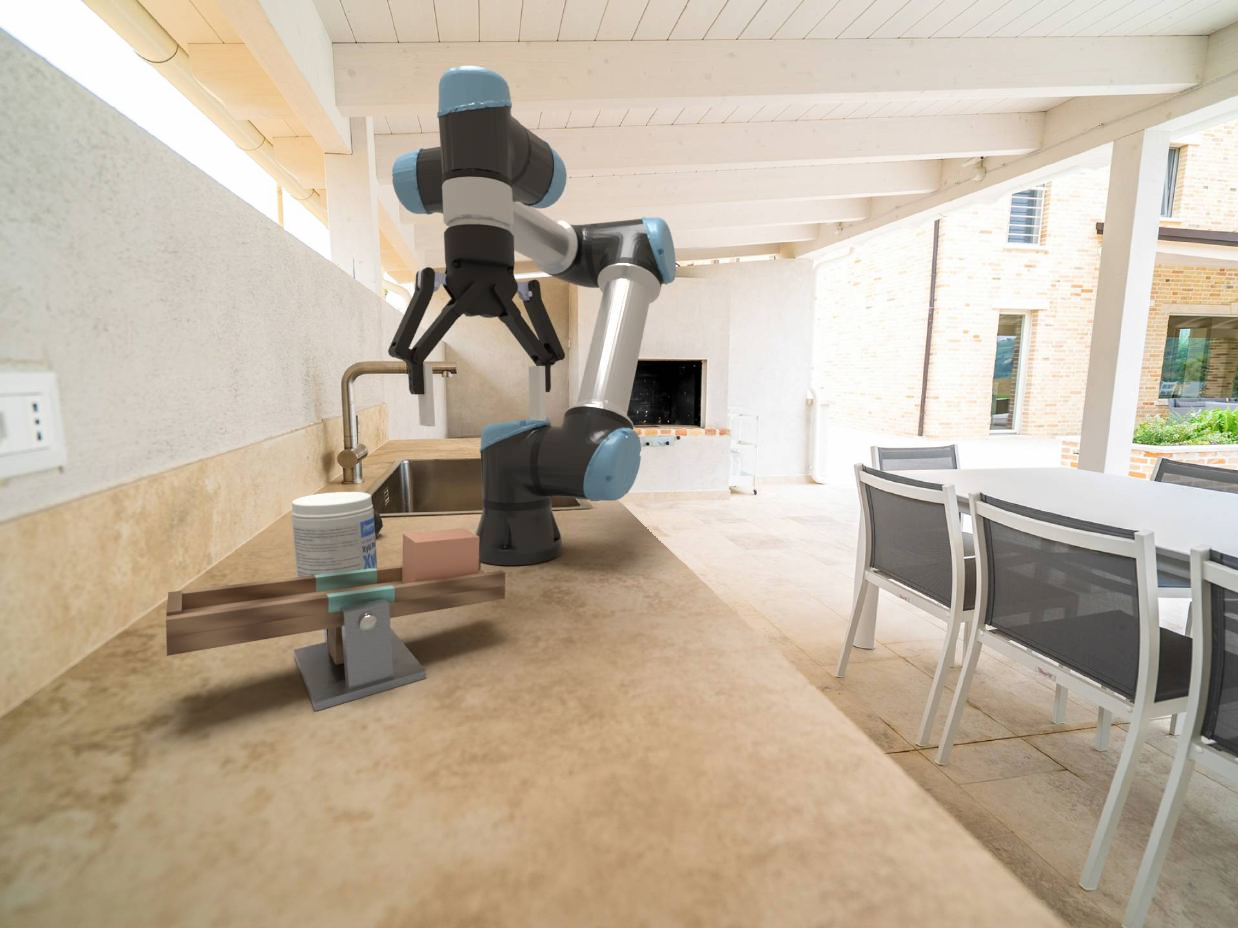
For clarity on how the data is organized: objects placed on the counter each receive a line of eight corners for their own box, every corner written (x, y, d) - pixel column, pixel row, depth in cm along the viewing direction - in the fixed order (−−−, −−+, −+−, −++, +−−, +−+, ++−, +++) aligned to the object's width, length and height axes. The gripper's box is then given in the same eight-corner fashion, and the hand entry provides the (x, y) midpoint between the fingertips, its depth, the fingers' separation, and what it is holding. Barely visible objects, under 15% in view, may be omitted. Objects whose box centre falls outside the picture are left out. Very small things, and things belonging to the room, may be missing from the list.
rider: (462, 574, 68) (464, 528, 68) (477, 584, 65) (479, 536, 64) (402, 582, 64) (403, 533, 64) (414, 593, 61) (415, 542, 60)
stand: (389, 632, 68) (385, 564, 67) (426, 678, 58) (422, 598, 57) (294, 656, 63) (287, 581, 61) (315, 711, 52) (308, 623, 51)
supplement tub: (386, 610, 75) (379, 499, 73) (303, 627, 70) (294, 508, 68) (371, 588, 83) (365, 488, 81) (296, 602, 78) (287, 495, 76)
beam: (475, 615, 72) (477, 553, 71) (503, 638, 66) (505, 570, 65) (170, 670, 54) (168, 588, 53) (168, 709, 48) (165, 616, 47)
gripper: (558, 250, 74) (561, 416, 77) (349, 218, 59) (363, 425, 62) (591, 239, 68) (593, 419, 71) (368, 201, 53) (382, 430, 56)
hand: (485, 423), depth 67 cm, fingers open, 13 cm apart
